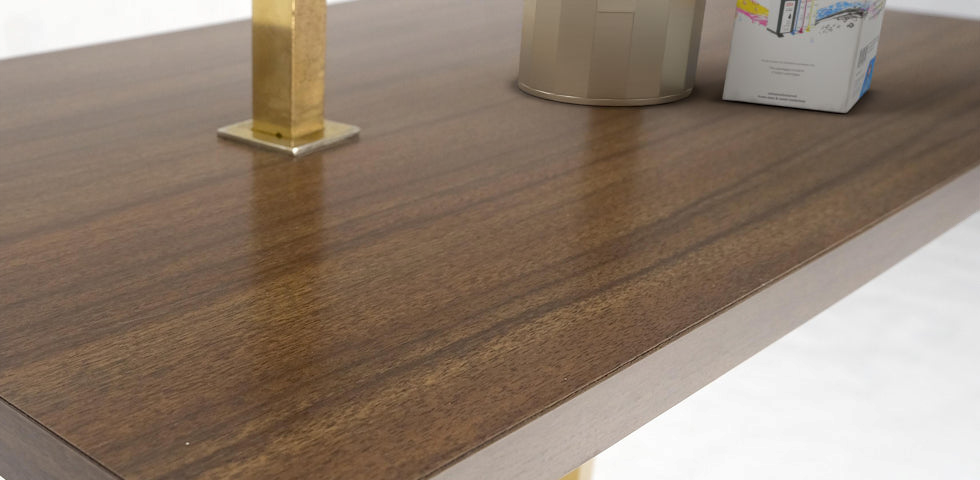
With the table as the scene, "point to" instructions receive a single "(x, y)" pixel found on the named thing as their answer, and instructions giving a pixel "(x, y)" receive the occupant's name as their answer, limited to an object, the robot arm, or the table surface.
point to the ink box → (803, 52)
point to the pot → (610, 50)
